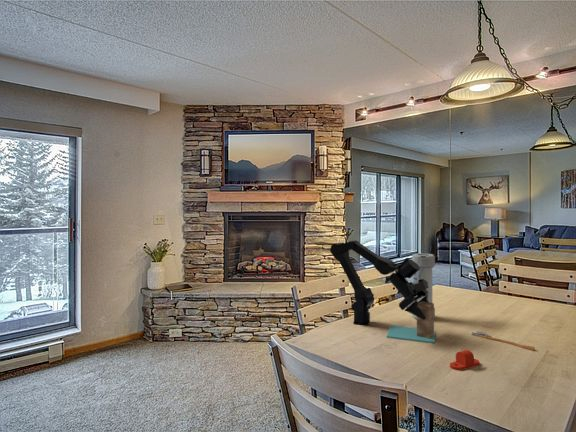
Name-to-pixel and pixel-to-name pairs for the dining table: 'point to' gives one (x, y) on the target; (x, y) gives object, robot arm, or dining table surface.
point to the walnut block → (426, 320)
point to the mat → (407, 334)
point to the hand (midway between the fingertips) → (428, 316)
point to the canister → (424, 272)
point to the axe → (486, 336)
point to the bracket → (464, 360)
